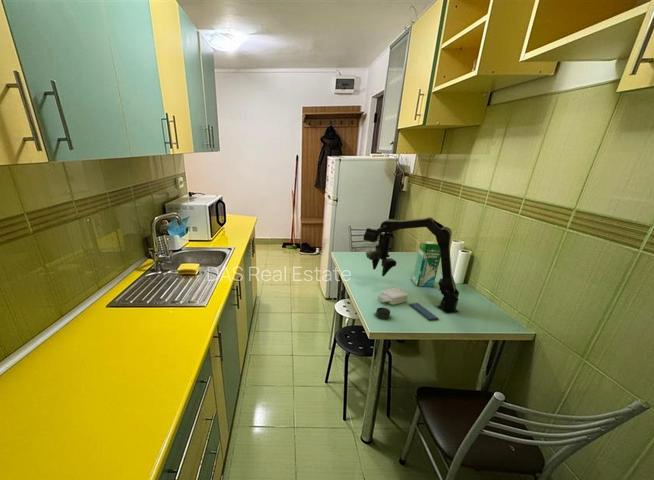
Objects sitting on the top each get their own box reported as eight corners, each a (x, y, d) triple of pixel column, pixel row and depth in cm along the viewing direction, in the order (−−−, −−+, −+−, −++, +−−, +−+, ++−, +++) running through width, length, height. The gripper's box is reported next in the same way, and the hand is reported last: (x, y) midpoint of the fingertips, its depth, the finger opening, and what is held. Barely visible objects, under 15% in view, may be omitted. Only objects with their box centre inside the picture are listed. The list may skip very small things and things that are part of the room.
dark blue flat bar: (417, 304, 151) (417, 302, 151) (438, 319, 138) (438, 318, 138) (409, 305, 150) (409, 303, 150) (429, 320, 137) (429, 319, 137)
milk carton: (427, 280, 179) (437, 239, 169) (433, 287, 171) (443, 244, 161) (412, 279, 180) (420, 239, 170) (416, 286, 172) (426, 243, 162)
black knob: (384, 312, 143) (385, 306, 142) (391, 318, 138) (393, 312, 136) (373, 313, 142) (374, 307, 140) (379, 320, 136) (381, 314, 135)
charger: (371, 300, 154) (393, 295, 160) (383, 308, 147) (406, 302, 153) (372, 291, 152) (394, 286, 158) (385, 299, 145) (408, 294, 151)
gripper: (361, 239, 160) (356, 266, 167) (379, 251, 144) (373, 280, 151) (379, 239, 163) (374, 265, 169) (399, 250, 146) (393, 279, 153)
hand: (378, 272), depth 161 cm, fingers open, 9 cm apart
